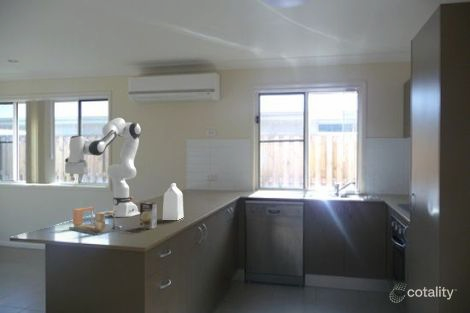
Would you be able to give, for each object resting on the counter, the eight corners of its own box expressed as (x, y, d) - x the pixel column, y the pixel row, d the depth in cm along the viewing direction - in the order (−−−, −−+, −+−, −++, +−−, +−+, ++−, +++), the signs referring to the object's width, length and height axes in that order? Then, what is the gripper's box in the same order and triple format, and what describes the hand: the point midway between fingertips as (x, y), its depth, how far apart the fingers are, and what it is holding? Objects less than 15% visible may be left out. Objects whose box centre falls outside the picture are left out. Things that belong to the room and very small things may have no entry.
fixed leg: (91, 223, 230) (91, 207, 230) (117, 228, 216) (117, 211, 216) (73, 227, 219) (73, 209, 219) (99, 232, 205) (99, 214, 205)
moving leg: (91, 222, 230) (91, 206, 230) (95, 222, 228) (95, 207, 228) (73, 225, 219) (73, 209, 219) (76, 226, 217) (76, 210, 217)
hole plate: (97, 223, 235) (97, 220, 235) (124, 229, 220) (125, 225, 220) (69, 229, 218) (69, 225, 218) (97, 235, 203) (97, 231, 203)
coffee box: (139, 228, 224) (139, 203, 223) (144, 226, 230) (144, 201, 230) (152, 229, 221) (152, 203, 221) (157, 226, 227) (157, 202, 227)
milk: (177, 221, 247) (178, 184, 247) (162, 220, 249) (162, 184, 249) (183, 218, 259) (183, 183, 258) (169, 217, 261) (169, 182, 261)
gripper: (90, 160, 227) (90, 181, 227) (72, 159, 238) (71, 179, 238) (81, 160, 222) (81, 181, 222) (63, 159, 233) (63, 180, 233)
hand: (76, 180), depth 230 cm, fingers open, 7 cm apart
